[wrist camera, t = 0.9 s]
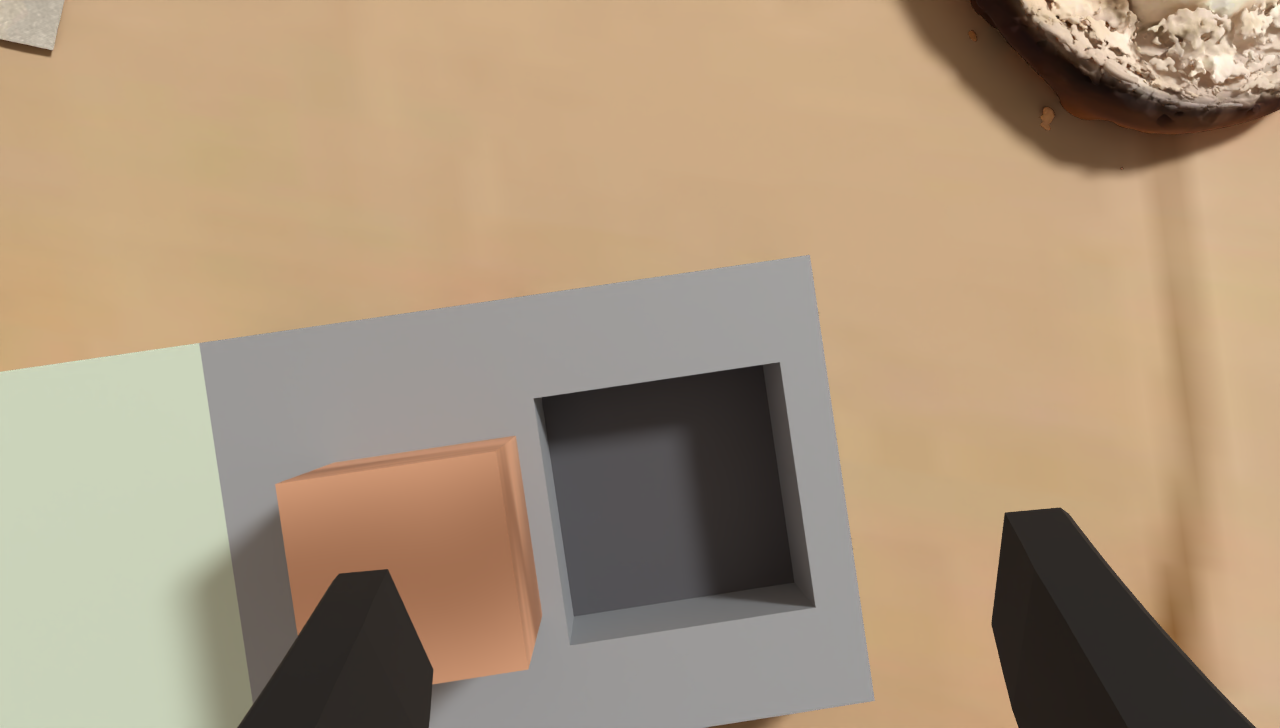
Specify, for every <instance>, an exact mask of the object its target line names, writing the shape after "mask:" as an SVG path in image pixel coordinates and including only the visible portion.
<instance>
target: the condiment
mask: <svg viewBox="0 0 1280 728" xmlns="http://www.w3.org/2000/svg"><path fill="white" fill-rule="evenodd" d="M63 4H64V0H0V39H3V40H7V41H12V42H17V43H22V44H26V45H31V46H36V47H40V48H45V49H49V50H53V49H54V44H55V39H56V34H57V30H58V26H59V22H60V17H61V13H62V9H63Z"/></svg>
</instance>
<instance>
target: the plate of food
mask: <svg viewBox="0 0 1280 728" xmlns="http://www.w3.org/2000/svg"><path fill="white" fill-rule="evenodd" d="M971 4H972V7H973V8H974V10H975V11H976V12H977V14H979V15H981V16H982V17H983V18H984V19H985V20H986V21H987V22H988V23H989V24H990V25H991V26H993V27H994V28H997V29H998V30H999V31H1000V33H1001V34H1002V35H1003V37H1004V38H1005V39H1006V40H1007V41H1008V43H1009V44H1010V45H1011V46H1012V47H1013V48H1014V49H1015V50H1016V51H1017V53H1018V54H1019V55H1020V56H1021V57H1022V58H1024V59H1025V60H1026V61H1027V62H1028V63H1029V64H1030V65H1031V66H1032V67H1033V69H1034V70H1035V71H1036V72H1037V73H1038V74H1039V75H1040V76H1041V77H1042V78H1043V79H1044V80H1045V81H1046V82H1047V83H1048V84H1049V85H1050V86H1051V87H1052V88H1053V90H1054V91H1055V92H1056V93H1057V95H1058V96H1059V98H1060V103H1061V105H1062V107H1063V108H1064V109H1065V110H1066V111H1068V112H1069V113H1070V114H1072V115H1074V116H1075V117H1078V118H1080V119H1085V120H1097V119H1102V120H1107V121H1112V122H1114V123H1116V124H1117V125H1119V126H1120V127H1124V128H1129V129H1134V130H1138V131H1141V132H1144V133H1159V134H1184V133H1195V132H1203V131H1208V130H1214V129H1218V128H1223V127H1228V126H1232V125H1236V124H1240V123H1243V122H1247V121H1250V120H1253V119H1256V118H1259V117H1262V116H1265V115H1268V114H1270V113H1273V112H1275V111H1277V110H1280V0H971ZM968 34H969V37H970V38H971V39H972V40H973V41H977V37H976V33H975V32H974V31H972V30H971V31H969V32H968ZM1054 116H1055V114H1054V111H1053V110H1052V109H1051V108H1050V107H1045V108H1044V109H1043V114H1042V116H1041V117H1040V118H1041V119H1042V120H1043V122H1042V123H1041V124H1040V126H1041V127H1043V128H1044V129H1045V130H1050V129H1051V128H1050V126H1049V124H1050V123H1051V122H1052V119H1053V118H1054ZM1121 169H1123V168H1122V167H1121Z"/></svg>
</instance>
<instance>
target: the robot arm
mask: <svg viewBox="0 0 1280 728" xmlns="http://www.w3.org/2000/svg"><path fill="white" fill-rule="evenodd" d="M992 628H993V633H994V637H995V641H996V645H997V649H998V654H999V658H1000V662H1001V666H1002V671H1003V675H1004V679H1005V683H1006V686H1007V690H1008V694H1009V698H1010V702H1011V706H1012V710H1013V713H1014V716H1015V718H1016V721H1017V724H1018V727H1019V728H1256V727H1255V726H1254V725H1253V724H1252V723H1251V722H1250V721H1249V720H1248V719H1247V718H1246V717H1245V716H1244V715H1243V714H1242V713H1241V712H1240V711H1239V710H1238V709H1237V708H1236V707H1235V706H1234V705H1233V704H1232V703H1231V702H1230V701H1229V700H1228V699H1227V698H1226V697H1225V696H1224V695H1223V694H1222V693H1221V692H1220V691H1219V690H1218V689H1217V687H1216V686H1215V685H1214V684H1213V683H1212V682H1211V681H1210V680H1209V679H1208V678H1207V677H1206V676H1205V675H1204V674H1203V672H1202V671H1201V670H1200V669H1199V668H1198V667H1197V666H1196V665H1195V664H1194V663H1193V662H1192V660H1191V659H1190V658H1189V657H1188V656H1187V655H1186V654H1185V653H1184V652H1183V651H1182V649H1181V648H1180V647H1179V646H1178V645H1177V644H1176V643H1175V642H1174V641H1173V640H1172V639H1171V637H1170V636H1169V635H1168V634H1167V633H1166V632H1165V631H1164V630H1163V629H1162V627H1161V626H1160V625H1159V624H1158V623H1157V622H1156V620H1155V619H1154V618H1153V617H1152V616H1151V615H1150V614H1149V612H1148V611H1147V610H1146V609H1145V608H1144V607H1143V605H1142V604H1141V603H1140V602H1139V601H1138V600H1137V598H1136V597H1135V596H1134V595H1133V594H1132V592H1131V591H1130V590H1129V589H1128V588H1127V586H1126V585H1125V584H1124V583H1123V582H1122V581H1121V579H1120V578H1119V577H1118V576H1117V574H1116V573H1115V572H1114V571H1113V569H1112V568H1111V567H1110V566H1109V565H1108V563H1107V562H1106V561H1105V560H1104V558H1103V557H1102V556H1101V555H1100V553H1099V552H1098V551H1097V550H1096V548H1095V547H1094V546H1093V545H1092V543H1091V542H1090V541H1089V539H1088V538H1087V537H1086V536H1085V534H1084V533H1083V532H1082V530H1081V529H1080V528H1079V527H1078V525H1077V524H1076V523H1075V521H1074V520H1073V519H1072V517H1071V516H1070V515H1069V514H1068V513H1067V512H1066V511H1064V510H1063V509H1062V508H1051V509H1040V510H1029V511H1018V512H1007V513H1005V516H1004V524H1003V533H1002V541H1001V549H1000V557H999V566H998V574H997V582H996V590H995V599H994V607H993V615H992ZM432 683H433V667H432V665H431V663H430V661H429V659H428V656H427V654H426V652H425V650H424V648H423V645H422V643H421V641H420V639H419V636H418V634H417V632H416V630H415V628H414V625H413V623H412V621H411V619H410V617H409V614H408V612H407V610H406V608H405V606H404V603H403V601H402V599H401V597H400V595H399V592H398V590H397V588H396V586H395V583H394V581H393V579H392V577H391V575H390V572H389V570H388V569H383V570H372V571H361V572H350V573H339V574H338V575H337V576H336V578H335V579H334V580H333V581H332V583H331V584H330V586H329V588H328V589H327V591H326V592H325V594H324V595H323V597H322V599H321V600H320V602H319V603H318V605H317V606H316V608H315V610H314V611H313V613H312V614H311V616H310V618H309V619H308V621H307V622H306V624H305V625H304V627H303V629H302V630H301V632H300V633H299V635H298V637H297V638H296V640H295V641H294V643H293V644H292V646H291V647H290V649H289V651H288V652H287V654H286V655H285V657H284V658H283V660H282V661H281V663H280V664H279V666H278V668H277V669H276V671H275V672H274V674H273V675H272V677H271V678H270V680H269V681H268V683H267V684H266V686H265V687H264V689H263V690H262V692H261V693H260V695H259V696H258V698H257V699H256V701H255V702H254V704H253V705H252V706H251V708H250V709H249V711H248V712H247V714H246V715H245V717H244V718H243V720H242V721H241V723H240V724H239V726H238V727H237V728H429V722H430V710H431V697H432Z"/></svg>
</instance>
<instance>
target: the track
mask: <svg viewBox="0 0 1280 728" xmlns="http://www.w3.org/2000/svg"><path fill="white" fill-rule="evenodd" d="M509 436H516V440H517V447H518V454H519V460H520V467H521V474H522V481H523V487H524V494H525V501H526V508H527V515H528V521H529V528H530V535H531V542H532V548H533V555H534V562H535V569H536V576H537V582H538V589H539V596H540V603H541V609H542V619H541V623H540V627H539V630H538V634H537V638H536V642H535V646H534V650H533V654H532V658H531V661H530V665H529V669H528V670H522V671H516V672H509V673H503V674H496V675H490V676H484V677H477V678H471V679H464V680H458V681H452V682H445V683H439V684H432V697H431V710H430V722H429V728H706V727H712V726H718V725H725V724H731V723H737V722H743V721H750V720H756V719H762V718H769V717H775V716H781V715H788V714H794V713H800V712H807V711H813V710H819V709H826V708H832V707H838V706H845V705H851V704H857V703H864V702H870V701H875V700H874V693H873V686H872V679H871V672H870V665H869V659H868V652H867V645H866V638H865V631H864V624H863V617H862V611H861V604H860V597H859V590H858V583H857V576H856V569H855V563H854V556H853V549H852V542H851V535H850V528H849V521H848V514H847V508H846V501H845V494H844V487H843V480H842V473H841V466H840V460H839V453H838V446H837V439H836V432H835V425H834V418H833V412H832V405H831V398H830V391H829V384H828V377H827V370H826V363H825V357H824V350H823V343H822V336H821V329H820V322H819V315H818V309H817V302H816V295H815V288H814V281H813V274H812V267H811V261H810V255H806V256H800V257H793V258H786V259H779V260H772V261H765V262H758V263H751V264H744V265H737V266H730V267H723V268H716V269H710V270H703V271H696V272H689V273H682V274H675V275H668V276H661V277H654V278H647V279H640V280H633V281H626V282H620V283H613V284H606V285H599V286H592V287H585V288H578V289H571V290H564V291H557V292H550V293H543V294H536V295H529V296H523V297H516V298H509V299H502V300H495V301H488V302H481V303H474V304H467V305H460V306H453V307H446V308H439V309H433V310H426V311H419V312H412V313H405V314H398V315H391V316H384V317H377V318H370V319H363V320H356V321H349V322H342V323H336V324H329V325H322V326H315V327H308V328H301V329H294V330H287V331H280V332H273V333H266V334H259V335H252V336H246V337H239V338H232V339H225V340H218V341H211V342H204V343H197V344H190V345H183V346H176V347H169V348H162V349H156V350H149V351H142V352H135V353H128V354H121V355H114V356H107V357H100V358H93V359H86V360H79V361H72V362H65V363H59V364H52V365H45V366H38V367H31V368H24V369H17V370H10V371H3V372H0V728H237V727H238V726H239V724H240V723H241V721H242V720H243V718H244V717H245V715H246V714H247V712H248V711H249V709H250V708H251V706H252V705H253V704H254V702H255V701H256V699H257V698H258V696H259V695H260V693H261V692H262V690H263V689H264V687H265V686H266V684H267V683H268V681H269V680H270V678H271V677H272V675H273V674H274V672H275V671H276V669H277V668H278V666H279V664H280V663H281V661H282V660H283V658H284V657H285V655H286V654H287V652H288V651H289V649H290V647H291V646H292V644H293V643H294V641H295V640H296V638H297V637H298V635H297V628H296V621H295V614H294V608H293V601H292V594H291V588H290V581H289V574H288V567H287V561H286V554H285V547H284V541H283V534H282V527H281V520H280V514H279V507H278V500H277V494H276V487H275V484H277V483H279V482H282V481H285V480H288V479H290V478H293V477H296V476H299V475H301V474H304V473H307V472H310V471H312V470H315V469H318V468H320V467H323V466H326V465H329V464H331V463H334V462H341V461H348V460H355V459H361V458H368V457H375V456H381V455H388V454H395V453H402V452H408V451H415V450H422V449H429V448H435V447H442V446H449V445H456V444H462V443H469V442H476V441H482V440H489V439H496V438H503V437H509Z"/></svg>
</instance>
